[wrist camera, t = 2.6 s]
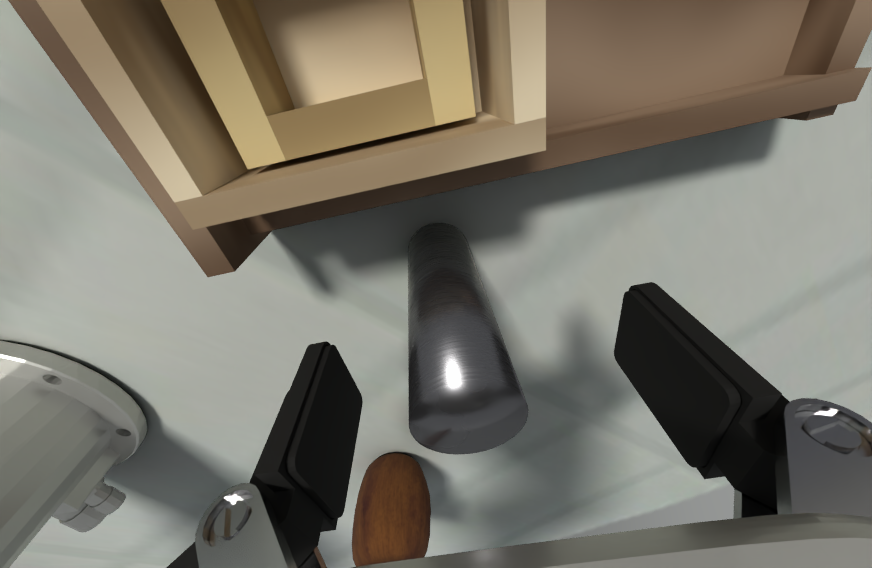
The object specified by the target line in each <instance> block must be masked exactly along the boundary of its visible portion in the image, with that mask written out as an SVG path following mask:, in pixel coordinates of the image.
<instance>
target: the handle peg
mask: <svg viewBox="0 0 872 568" xmlns="http://www.w3.org/2000/svg"><path fill="white" fill-rule="evenodd" d="M408 327H409V429H410V432H411V434H412V436H413V437H414V439H415V440H416V441H417V442H418V443H420V444H421V445H423V446H424V447H426V448H428V449H431V450H434V451H437V452H441V453H447V454H470V453H477V452H481V451H485V450H489V449H492V448H494V447H497V446H499V445H501V444H503V443H505V442H507V441H508V440H510V439H511V438H513V437H514V436H515V435H516V434H517V433H518V432H519V431H520V430H521V429H522V428H523V426H524V425H525V423H526V421H527V417H528V405H527V403H526V400H525V397H524V395H523V392H522V389H521V387H520V384H519V381H518V379H517V376H516V373H515V370H514V368H513V365H512V362H511V360H510V357H509V354H508V352H507V349H506V346H505V344H504V341H503V338H502V335H501V333H500V330H499V327H498V325H497V322H496V319H495V317H494V314H493V311H492V309H491V306H490V303H489V300H488V298H487V295H486V292H485V290H484V287H483V284H482V282H481V279H480V276H479V273H478V271H477V268H476V265H475V263H474V260H473V257H472V255H471V252H470V249H469V247H468V244H467V241H466V239H465V237H464V235H463V234H462V233H461V232H460V231H459V230H458V229H457V228H455V227H453V226H451V225H449V224H444V223H434V224H430V225H427V226H425V227H423V228H421V229H420V230H418V231H417V232H416V233H415V234H414V236H413V237H412V239H411V241H410V243H409V247H408Z"/></svg>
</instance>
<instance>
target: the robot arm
mask: <svg viewBox="0 0 872 568" xmlns="http://www.w3.org/2000/svg"><path fill="white" fill-rule="evenodd" d="M614 356H615V359H616V361H617V363H618V364H619V366H620V367H621V369H622V370H623V372H624V373H625V374H626V376H627V377H628V379H629V380H630V382H631V383H632V385H633V386H634V387H635V389H636V390H637V392H638V393H639V395H640V396H641V397H642V399H643V400H644V402H645V403H646V405H647V406H648V408H649V409H650V410H651V412H652V413H653V415H654V416H655V418H656V419H657V420H658V422H659V423H660V425H661V426H662V428H663V429H664V431H665V432H666V433H667V435H668V436H669V438H670V439H671V441H672V442H673V444H674V445H675V446H676V448H677V449H678V451H679V452H680V454H681V455H682V456H683V458H684V459H685V461H686V462H687V463H688V464H689V465H690V466H692V467H696V468H697V469H698V471H699V472H700V473H701V475H702V476H703V478H704V479H708V478H716V477H723V476H725V477H726V478H727V480H728V481H729V482H730V484H731V485H732V486H733V487H734V518H733V519H727V520H718V521H708V522H699V523H690V524H683V525H674V526H667V527H658V528H650V529H642V530H634V531H626V532H618V533H610V534H602V535H593V536H586V537H578V538H570V539H562V540H554V541H546V542H539V543H531V544H523V545H515V546H508V547H500V548H492V549H484V550H477V551H469V552H461V553H454V554H446V555H439V556H432V557H424V558H417V559H409V560H402V561H394V562H387V563H379V564H372V565H366V566H359V567H353V568H872V423H871V422H870V421H868V420H867V419H865V418H864V417H863V416H861V415H859V414H857V413H855V412H853V411H851V410H849V409H847V408H845V407H843V406H840V405H837V404H834V403H831V402H828V401H823V400H819V399H810V398H801V399H796V400H792V401H791V402H789V401H788V400H787V399H786V398H785V397H784V396H783V395H781V394H782V393H781V392H779V391H778V390H777V389H776V388H775V387H774V386H773V385H771V384H770V383H769V382H768V381H767V380H766V379H764V378H763V377H762V376H761V375H760V374H759V373H758V372H756V371H755V370H754V369H753V368H752V367H751V366H750V365H748V364H747V363H746V362H745V361H744V360H743V359H742V358H740V357H739V356H738V355H737V354H736V353H735V352H734V351H732V350H731V349H730V348H729V347H728V346H727V345H726V344H724V343H723V342H722V341H721V340H720V339H719V338H717V337H716V336H715V335H714V334H713V333H712V332H711V331H709V330H708V329H707V328H706V327H705V326H704V325H703V324H701V323H700V322H699V321H698V320H697V319H696V318H695V317H693V316H692V315H691V314H690V313H689V312H688V311H687V310H685V309H684V308H683V307H682V306H681V305H680V304H679V303H677V302H676V301H675V300H674V299H673V298H672V297H670V296H669V295H668V294H667V293H666V292H665V291H664V290H662V289H661V288H660V287H659V286H658V285H657V284H655V283H652V282H650V283H645V284H639V285H634V286H631V287H630V288H629V291H627V292H625V294H624V298H623V303H622V309H621V315H620V320H619V326H618V332H617V338H616V343H615V349H614ZM361 409H362V396H361V393H360V391H359V389H358V388H357V386H356V384H355V382H354V380H353V378H352V376H351V374H350V372H349V371H348V369H347V367H346V365H345V363H344V361H343V359H342V357H341V356H340V354H339V352H338V350H337V348H336V346H335V345H330V343H329V342H321V343H316V344H310V345H309V346H308V347H307V349H306V352H305V354H304V357H303V359H302V361H301V364H300V366H299V369H298V371H297V374H296V376H295V378H294V381H293V383H292V386H291V388H290V390H289V391H288V393H287V395H286V396H285V399H284V401H283V404H282V406H281V408H280V411H279V413H278V416H277V418H276V420H275V423H274V425H273V428H272V430H271V432H270V435H269V437H268V440H267V442H266V444H265V447H264V449H263V451H262V454H261V456H260V459H259V461H258V463H257V466H256V468H255V471H254V473H253V475H252V478H251V480H250V483H241V484H238V485H236V486H233V487H231V488H230V489H228V490H227V491H225V492H224V493H222V494H221V495H220V496H219V497H218V498H217V499H216V500H215V501H214V502H213V503H212V504H211V505H210V507H209V508H208V509H207V510H206V512H205V513H204V515H203V517H202V519H201V521H200V522H199V525H198V528H197V531H196V538H195V542H194V543H193V544H192V545H191V546H190V547H189V548H188V549H187V550H185V551H184V552H183V553H182V554H181V555H180V556H179V557H178V558H177V559H176V560H174V561H173V562H172V563H171V564H170V565H169V566H168V567H167V568H327V567H326V565H325V563H324V560H323V558H322V556H321V554H320V552H319V550H318V547H317V546H318V542H319V537H320V532H323V531H331V530H336V525H337V520H338V518H339V517H341V516H342V515H343V512H344V508H345V502H346V497H347V491H348V485H349V479H350V473H351V467H352V462H353V456H354V450H355V444H356V438H357V433H358V427H359V421H360V415H361ZM146 432H147V423H146V418H145V416H144V414H143V412H142V410H141V408H140V407H139V406H138V404H137V403H136V402H135V401H134V400H133V398H132V397H131V396H130V395H129V394H127V393H126V392H125V391H124V390H123V389H121V388H120V387H119V386H118V385H117V384H115V383H113V382H112V381H110V380H109V379H107V378H106V377H104V376H103V375H101V374H99V373H97V372H95V371H93V370H91V369H89V368H87V367H85V366H83V365H81V364H80V363H77V362H75V361H72V360H70V359H67V358H64V357H62V356H59V355H57V354H54V353H51V352H47V351H44V350H40V349H37V348H33V347H30V346H26V345H20V344H15V343H10V342H5V341H0V568H9V567H10V566H11V565H12V564H13V562H14V561H15V560H16V559H17V558H18V556H19V555H20V554H21V553H22V551H23V550H24V549H25V548H26V547H27V545H28V544H29V543H30V542H31V540H32V539H33V538H34V537H35V536H36V534H37V533H38V532H39V531H40V530H41V528H42V527H43V526H44V525H45V523H46V522H47V521H48V520H49V519H50V517H51V516H52V517H54V518H57V519H59V521H60V523H62V524H64V525H66V526H68V527H70V528H73V529H75V530H77V531H79V532H87V531H89V530H91V529H93V528H94V527H95V526H97V525H98V524H99V523H100V522H101V521H102V520H103V519H104V518H105V517H106V516H107V515H108V514H111V513H113V512H114V511H115V510H117V509H118V508H119V507H120V506H121V505H122V503H123V502H124V500H125V498H126V496H125V494H124V493H122V492H121V491H119V490H117V489H116V488H114V487H112V486H108V485H106V484H105V483H103V482H104V479H105V478H104V476H105V474H106V473H107V472H108V470H109V469H110V468H111V467H112V466H115V465H117V464H119V463H121V462H123V461H125V460H127V459H128V458H129V457H130V456H131V455H133V454H134V453H135V451H136V450H137V449H138V447H139V446H140V444H141V443H142V442H143V440H144V439H145V436H146Z"/></svg>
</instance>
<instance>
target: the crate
mask: <svg viewBox="0 0 872 568" xmlns="http://www.w3.org/2000/svg"><path fill="white" fill-rule="evenodd" d="M36 1H37V2H38V4H39V5H40V7H41V8H42V10H43V11H44V13H45V14H46V16H47V17H48V18H49V20H50V21H51V23H52V24H53V26H54V27H55V29H56V30H57V32H58V33H59V35H60V36H61V37H62V39H63V40H64V42H65V43H66V45H67V46H68V48H69V49H70V51H71V52H72V54H73V55H74V56H75V58H76V59H77V61H78V62H79V64H80V65H81V67H82V68H83V70H84V71H85V73H86V74H87V76H88V77H89V78H90V80H91V81H92V83H93V84H94V86H95V87H96V89H97V90H98V92H99V93H100V95H101V96H102V97H103V99H104V100H105V102H106V103H107V105H108V106H109V108H110V109H111V111H112V112H113V114H114V115H115V116H116V118H117V119H118V121H119V122H120V124H121V125H122V127H123V128H124V130H125V131H126V133H127V134H128V135H129V137H130V138H131V140H132V141H133V143H134V144H135V146H136V147H137V149H138V150H139V152H140V153H141V155H142V156H143V157H144V159H145V160H146V162H147V163H148V165H149V166H150V168H151V169H152V171H153V172H154V174H155V175H156V176H157V178H158V179H159V181H160V182H161V184H162V185H163V187H164V188H165V190H166V191H167V193H168V194H169V195H170V197H171V198H172V200H173V201H174V203H175V204H176V206H177V207H178V209H179V210H180V212H181V213H182V214H183V216H184V217H185V219H186V220H187V222H188V223H189V225H190V226H191V228H192V229H193V230H194V229H199V228H203V227H208V226H212V225H217V224H221V223H225V222H230V221H234V220H239V219H243V218H248V217H252V216H257V215H261V214H265V213H270V212H274V211H279V210H283V209H288V208H292V207H296V206H301V205H305V204H310V203H314V202H319V201H323V200H328V199H332V198H336V197H341V196H345V195H350V194H354V193H359V192H363V191H368V190H372V189H376V188H381V187H385V186H390V185H394V184H399V183H403V182H408V181H412V180H416V179H421V178H425V177H430V176H434V175H439V174H443V173H448V172H452V171H456V170H461V169H465V168H470V167H474V166H479V165H483V164H487V163H492V162H496V161H501V160H505V159H510V158H514V157H519V156H523V155H527V154H532V153H536V152H541V151H545V150H546V0H36Z"/></svg>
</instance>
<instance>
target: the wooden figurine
mask: <svg viewBox="0 0 872 568" xmlns="http://www.w3.org/2000/svg"><path fill="white" fill-rule="evenodd" d="M430 515H431V508H430V495H429V491H428V486H427V482H426V479H425V477H424V474H423V471H422V469H421V467H420V465H419V463H418V462H417V461H415V460H414V459H413V458H411V457H410V456H408V455H404V454H399V453H391V454H386V455H383V456H381V457H379V458H377V459H376V460H375V461H374V462H373V463H371V464H370V465H369V467H368V469H367V470H366V473H365V475H364V478H363V481H362V484H361V487H360V490H359V494H358V499H357V504H356V508H355V515H354V523H353V534H352V552H353V560H354V563H355V565H356V567H359V566H366V565H372V564H379V563H387V562H394V561H402V560H409V559H417V558H424V556H425V554H426V552H427V548H428V542H429V537H430Z"/></svg>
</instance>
